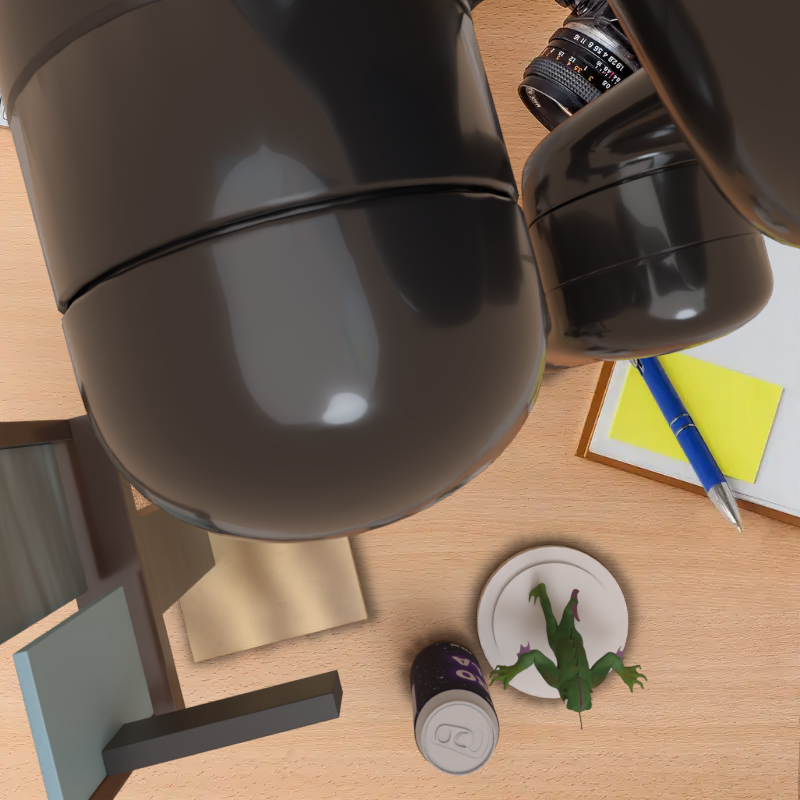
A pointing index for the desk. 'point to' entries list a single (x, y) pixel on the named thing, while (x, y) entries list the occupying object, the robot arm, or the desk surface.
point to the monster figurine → (554, 625)
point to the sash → (135, 706)
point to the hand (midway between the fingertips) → (357, 348)
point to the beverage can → (452, 709)
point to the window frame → (90, 543)
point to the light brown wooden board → (270, 594)
